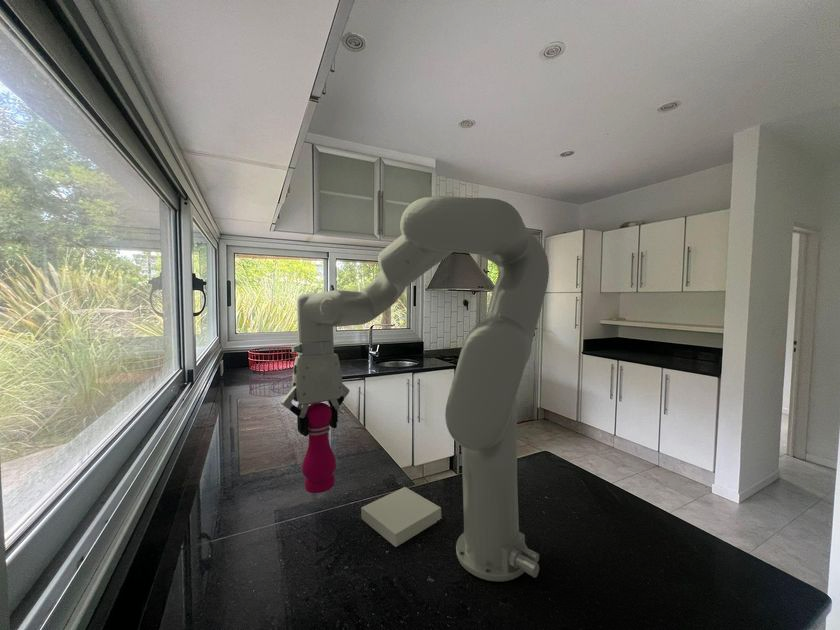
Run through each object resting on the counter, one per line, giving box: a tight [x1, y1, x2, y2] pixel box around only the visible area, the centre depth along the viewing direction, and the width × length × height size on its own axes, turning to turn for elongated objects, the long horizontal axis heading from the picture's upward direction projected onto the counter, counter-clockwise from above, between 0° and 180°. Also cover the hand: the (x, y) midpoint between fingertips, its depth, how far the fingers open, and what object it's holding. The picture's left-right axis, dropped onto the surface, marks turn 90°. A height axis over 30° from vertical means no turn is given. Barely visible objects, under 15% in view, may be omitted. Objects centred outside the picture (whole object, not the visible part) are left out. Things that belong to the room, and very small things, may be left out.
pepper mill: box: [301, 402, 337, 494], centre depth 73 cm, size 7×7×20 cm
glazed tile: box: [360, 486, 442, 548], centre depth 70 cm, size 3×12×12 cm
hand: (318, 429), depth 73 cm, fingers closed on pepper mill, 6 cm apart
